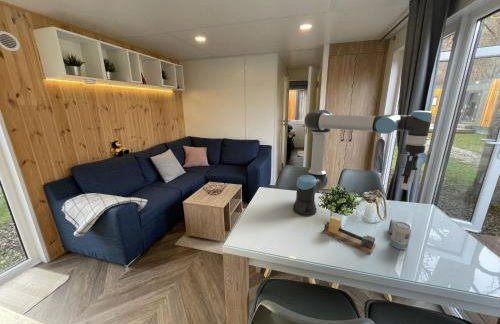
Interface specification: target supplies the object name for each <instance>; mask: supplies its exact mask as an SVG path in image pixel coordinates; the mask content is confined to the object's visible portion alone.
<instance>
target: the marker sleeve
mask: <svg viewBox="0 0 500 324" xmlns="http://www.w3.org/2000/svg"><path fill="white" fill-rule="evenodd" d="M329 222H330V224H329V229H328V231H330V232H332V233H334V234H336V235H338V234H339V233H340V232H339V231H338V230H339V228H341V229H342V226H343V225H342V218H339V217H336V216H333V215H331V216H330V218H329Z"/></svg>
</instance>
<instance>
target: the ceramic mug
mask: <svg viewBox="0 0 500 324" xmlns="http://www.w3.org/2000/svg"><path fill="white" fill-rule="evenodd" d="M396 222H400V221H399V220H397V219H392V218H391V219H390V221H389V226H388V234H391V235H392V231H393V226H394V224H396Z"/></svg>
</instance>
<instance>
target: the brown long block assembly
mask: <svg viewBox="0 0 500 324" xmlns="http://www.w3.org/2000/svg"><path fill="white" fill-rule="evenodd" d="M329 224H330V221H327V222H326V223H325V224H324V228H323V230H322V232H321V233H322V234H324V235H327V236H329V237H331V238H332V239H335V240H338V241H339V242H342V243H344V244H346V245H348V246H350V247H353V248H354V249H357V250H360V251H362V252H364V253H366V254H369V255H371V254H372V253H373V251H374V250H375V248H376V244H377V243H375V241H376V237H374V236H370V235H368V234H367V235H363V236H360V235H358V234H356V233H354V232H351V231H348V230H345V229H344V228H342V227H341V228H339V230H338V231H339V232H340V233H339V234H338V235H336V234H334V233H332V232H330V231H328V229H329Z"/></svg>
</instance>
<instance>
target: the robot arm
mask: <svg viewBox="0 0 500 324" xmlns="http://www.w3.org/2000/svg"><path fill="white" fill-rule="evenodd" d="M432 118H433V112H432V111H430V110H413V111H412V112H411V113H410V114H409V115H405V114H383V115H354V114H353V115H351V114H348V115H347V114H346V115H345V114H332V112H331V111H329V110H327V109H319V110H318V109H317V110H312V111H311V110H310V111H309V112H308V113H306V115H305V116H304V119H303V120H304V124H305V127H306V128H307V129H309V130H310V132H311V134H312V145H311V163H310V165H311V166H310V169H309V170H308V172H307V174H305V175H304V174H302V175H299V177H297V180H296V191H295V192H296V194H295V195H296V197H295V201H294V202H293V205H292V211H293V212H294V213H295V214H297V215H299V216H303V217H311V216H315V215H316V214H317V210H318V209H317V205H316V202H315V201H316V200H315V195H316V193H317V192H319V191H321V190H323V189H324V188H325V187H326V186H327V185H328V183H329V177H328V176H327V171H326V170H325V161H326V149H327V138H328V137H327V136H328V134H329V133H331V130H345V131H357V132H358V131H359V132H371V133H380V134H382V135H383V134H386V135H387V134H392V132H395V131H398V132H399V131H401V132H407V135H406V140H405V143H406V144H405V146H404V152H406V153H409V154H408V155H406V156H407V157H406V161H405V167H404V170H403V173H402V174H401V176H400V177H402V179H401V180H402V182H401V185H400V189H402V190H405V191H408V190H409V185H410V183H413V182H414V178H415V174H416V171H417V170H418V167H417V165H418V160H419V156H420V155H419V154H424V153H425V150H426V144H427V141H429V140H430V138H429V137H428V136H429V132H430V129H431V128H430V127H431V124H432V120H433V119H432Z"/></svg>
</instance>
